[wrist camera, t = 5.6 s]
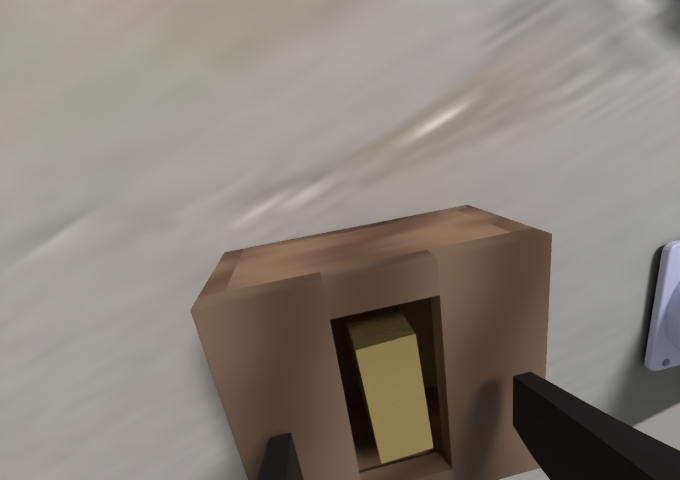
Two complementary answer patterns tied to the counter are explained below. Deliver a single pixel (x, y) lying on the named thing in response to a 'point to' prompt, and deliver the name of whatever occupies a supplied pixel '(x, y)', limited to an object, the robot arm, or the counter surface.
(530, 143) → the counter surface
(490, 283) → the coin box
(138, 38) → the counter surface
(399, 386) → the block
